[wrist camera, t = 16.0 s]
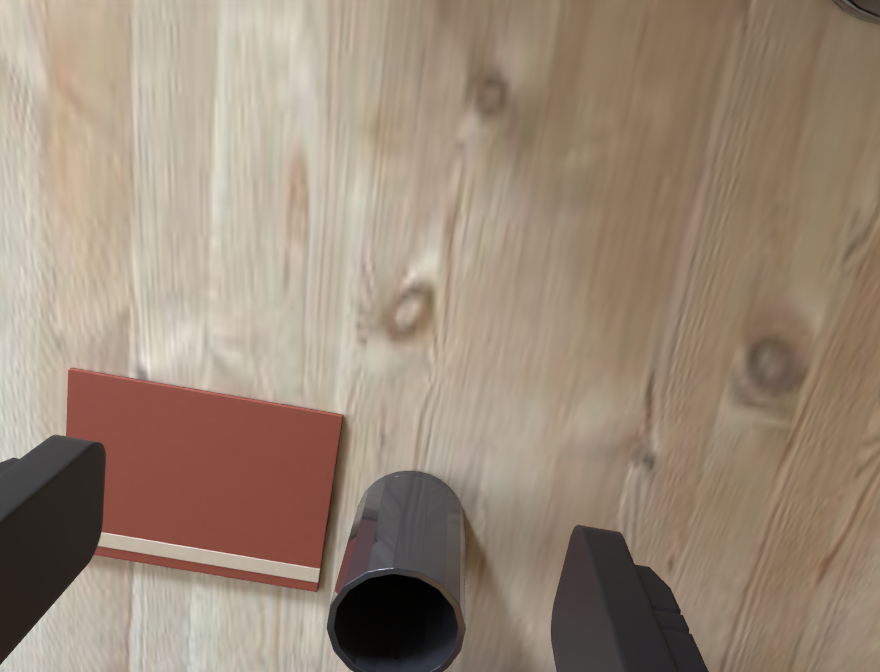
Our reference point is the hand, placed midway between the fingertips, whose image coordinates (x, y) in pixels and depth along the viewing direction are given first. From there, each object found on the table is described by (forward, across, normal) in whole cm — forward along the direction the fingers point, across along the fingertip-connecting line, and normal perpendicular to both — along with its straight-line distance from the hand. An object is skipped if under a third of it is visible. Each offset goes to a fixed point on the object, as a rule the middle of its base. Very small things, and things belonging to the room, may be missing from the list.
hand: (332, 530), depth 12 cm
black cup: (+28, -2, +16) cm, 32 cm away
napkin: (+28, +11, +16) cm, 34 cm away
